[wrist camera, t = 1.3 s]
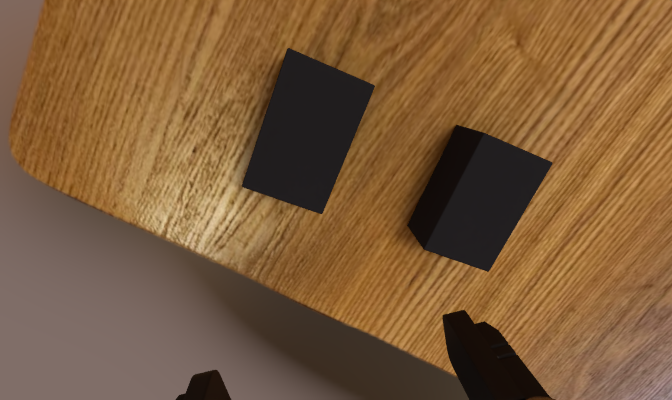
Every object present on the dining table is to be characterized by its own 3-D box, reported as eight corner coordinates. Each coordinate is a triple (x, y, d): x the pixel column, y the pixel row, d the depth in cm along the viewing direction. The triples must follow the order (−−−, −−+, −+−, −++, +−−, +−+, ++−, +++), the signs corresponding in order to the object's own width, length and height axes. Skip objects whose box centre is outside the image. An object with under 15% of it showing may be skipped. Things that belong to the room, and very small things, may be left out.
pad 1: (251, 170, 24) (241, 186, 20) (290, 53, 22) (287, 47, 18) (319, 194, 25) (322, 214, 21) (364, 84, 23) (375, 85, 19)
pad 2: (406, 225, 26) (423, 249, 23) (456, 124, 24) (484, 133, 20) (463, 245, 27) (489, 272, 23) (516, 150, 25) (553, 162, 21)
